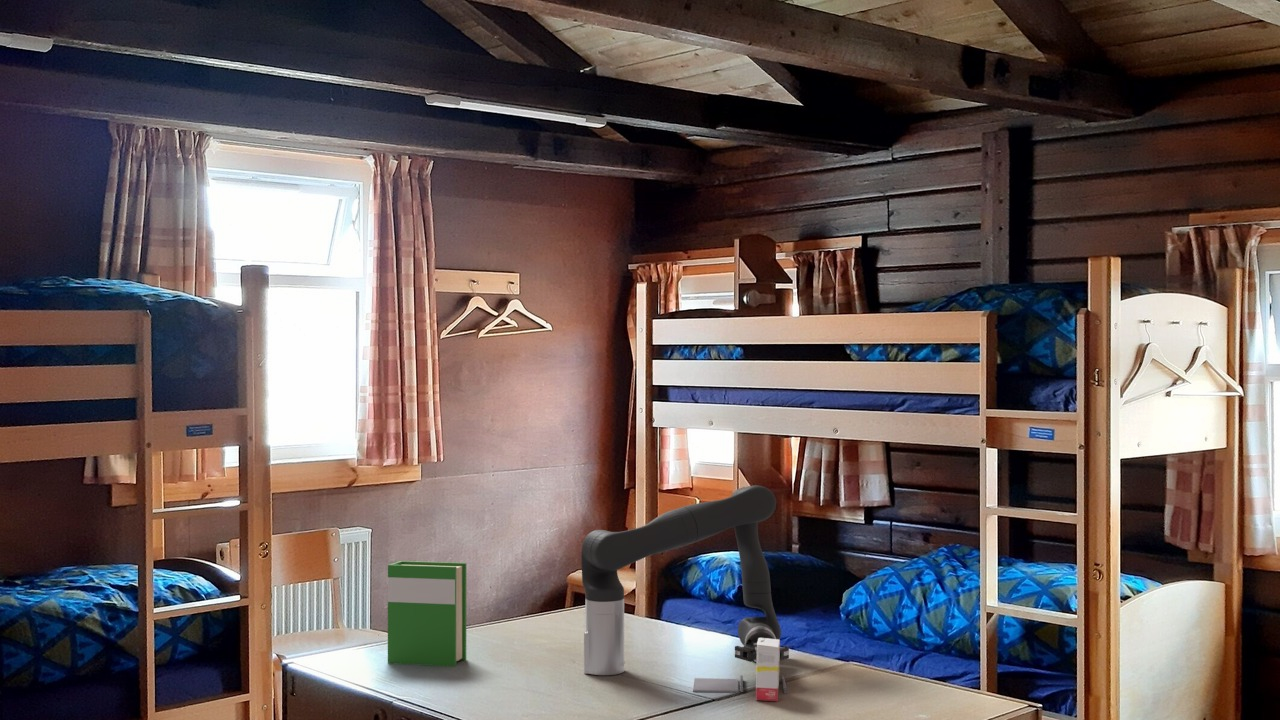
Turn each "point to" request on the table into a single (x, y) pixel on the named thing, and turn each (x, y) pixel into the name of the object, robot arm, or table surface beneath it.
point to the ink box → (767, 669)
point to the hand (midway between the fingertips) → (762, 660)
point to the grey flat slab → (721, 685)
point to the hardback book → (426, 613)
